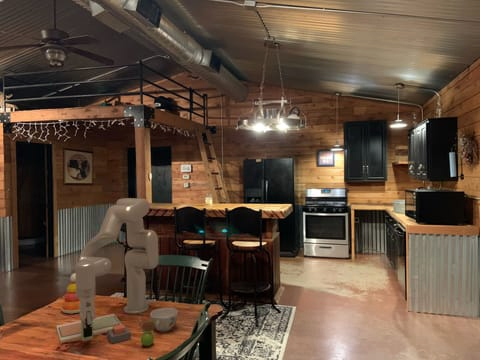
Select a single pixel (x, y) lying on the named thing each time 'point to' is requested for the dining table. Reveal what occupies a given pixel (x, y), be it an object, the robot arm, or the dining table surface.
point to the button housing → (118, 336)
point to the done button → (118, 329)
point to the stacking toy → (71, 298)
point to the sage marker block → (83, 330)
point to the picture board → (74, 328)
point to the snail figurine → (146, 332)
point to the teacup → (164, 318)
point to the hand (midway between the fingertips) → (86, 333)
